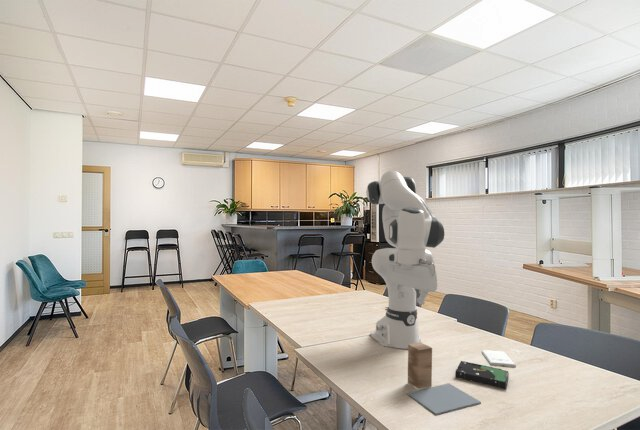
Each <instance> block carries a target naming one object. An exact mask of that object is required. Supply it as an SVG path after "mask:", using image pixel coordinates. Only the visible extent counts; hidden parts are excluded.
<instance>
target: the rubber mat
mask: <svg viewBox="0 0 640 430" xmlns="http://www.w3.org/2000/svg"><path fill="white" fill-rule="evenodd" d="M406 395H407V396H409V397H411V399H413V400H414V401H416V402H417V403H418V404H419V405H421V406H422V407H424V408H425V409H427V410H428V411H430V412H431V413H432V414H434V416H437V415H442V414H444V413H449V412H453V411H457V410H460V409H464V408H468V407H472V406H476V405H480V404H482V401H481V400H478V399H477V398H475V397H474V396H472V395H471V394H469V393H466V392H465V391H463V390H462V389H460V388H458V387H456V386H455V385H452V384H451V383H444V384H440V385H436V386H431V387H430V388H426V389H421V390H417V389H416V390H412V391H409V392H406Z"/></svg>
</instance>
